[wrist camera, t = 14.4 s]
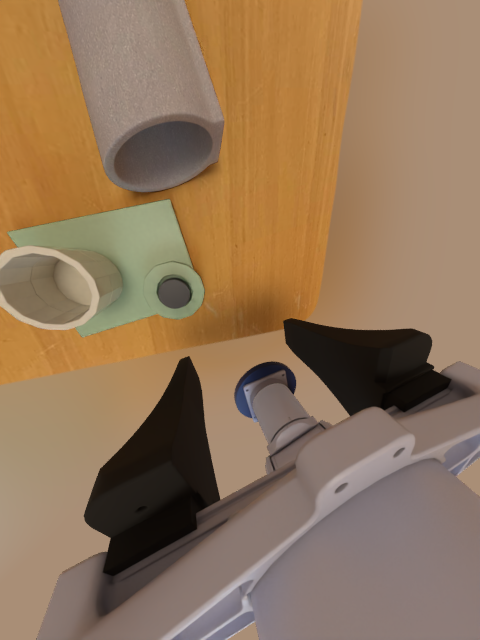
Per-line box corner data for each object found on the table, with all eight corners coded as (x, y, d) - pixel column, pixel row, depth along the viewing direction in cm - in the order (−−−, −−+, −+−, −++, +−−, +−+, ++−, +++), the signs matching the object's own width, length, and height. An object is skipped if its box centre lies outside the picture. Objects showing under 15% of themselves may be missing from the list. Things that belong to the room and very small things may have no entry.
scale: (208, 303, 21) (211, 309, 19) (90, 340, 19) (78, 352, 17) (173, 200, 17) (172, 192, 15) (15, 232, 15) (-16, 229, 12)
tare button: (193, 300, 19) (194, 303, 17) (167, 308, 18) (165, 312, 17) (183, 274, 17) (183, 275, 16) (155, 282, 17) (152, 284, 16)
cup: (134, 298, 18) (115, 315, 13) (74, 315, 17) (30, 340, 12) (104, 241, 16) (68, 236, 11) (34, 258, 15) (-41, 260, 10)
